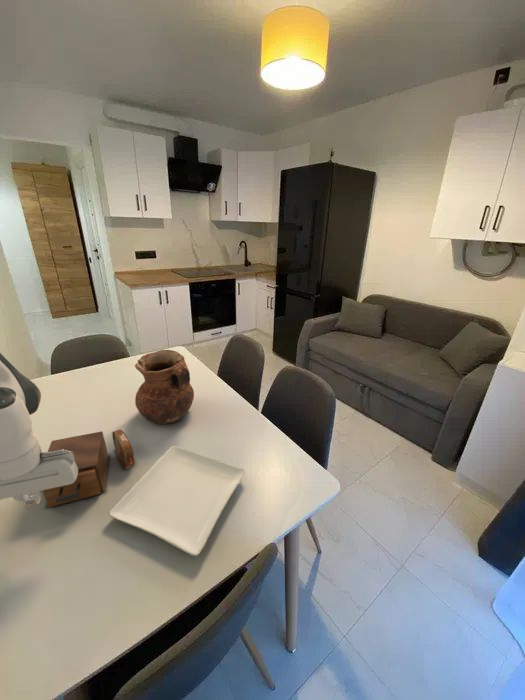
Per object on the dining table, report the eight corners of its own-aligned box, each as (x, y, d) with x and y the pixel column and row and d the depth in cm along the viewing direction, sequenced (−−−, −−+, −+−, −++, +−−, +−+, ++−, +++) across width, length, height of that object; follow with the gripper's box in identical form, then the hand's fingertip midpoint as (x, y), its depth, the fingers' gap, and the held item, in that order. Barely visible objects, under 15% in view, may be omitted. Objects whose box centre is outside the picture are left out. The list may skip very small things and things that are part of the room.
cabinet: (104, 492, 84) (96, 464, 79) (48, 506, 79) (37, 478, 75) (108, 456, 96) (102, 431, 92) (60, 467, 91) (51, 440, 87)
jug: (129, 430, 108) (118, 371, 97) (148, 398, 127) (140, 346, 117) (189, 431, 109) (185, 372, 98) (199, 399, 128) (195, 347, 118)
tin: (113, 446, 100) (109, 427, 97) (123, 442, 102) (119, 423, 98) (127, 474, 90) (123, 453, 86) (138, 469, 92) (134, 448, 88)
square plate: (173, 452, 99) (172, 443, 97) (246, 478, 90) (246, 469, 88) (108, 522, 76) (105, 512, 74) (198, 566, 67) (197, 555, 65)
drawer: (98, 507, 78) (92, 483, 75) (44, 521, 74) (34, 497, 70) (105, 459, 93) (99, 438, 90) (60, 469, 89) (52, 447, 85)
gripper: (74, 438, 69) (85, 481, 74) (-37, 458, 62) (-15, 503, 67) (68, 457, 63) (81, 502, 69) (-54, 481, 56) (-29, 528, 62)
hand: (33, 502), depth 68 cm, fingers closed
